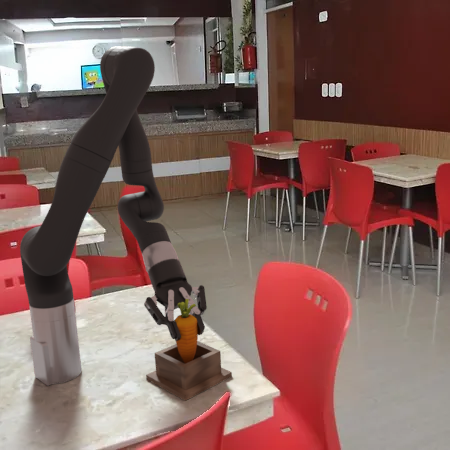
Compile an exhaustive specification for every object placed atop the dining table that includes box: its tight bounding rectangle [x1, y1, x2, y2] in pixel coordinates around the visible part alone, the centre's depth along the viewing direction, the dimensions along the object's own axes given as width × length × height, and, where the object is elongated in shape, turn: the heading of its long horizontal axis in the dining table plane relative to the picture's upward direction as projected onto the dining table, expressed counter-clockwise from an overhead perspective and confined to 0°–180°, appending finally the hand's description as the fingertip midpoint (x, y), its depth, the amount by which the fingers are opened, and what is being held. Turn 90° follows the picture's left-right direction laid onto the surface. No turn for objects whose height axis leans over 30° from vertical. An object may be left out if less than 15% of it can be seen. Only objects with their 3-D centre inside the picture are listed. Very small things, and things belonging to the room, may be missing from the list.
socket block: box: [145, 340, 233, 402], centre depth 117 cm, size 13×13×6 cm
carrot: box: [174, 299, 199, 364], centre depth 115 cm, size 5×5×15 cm
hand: (190, 336), depth 114 cm, fingers closed on carrot, 4 cm apart
